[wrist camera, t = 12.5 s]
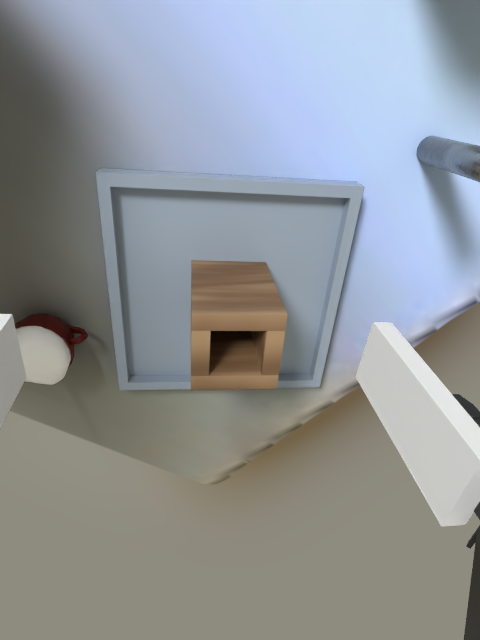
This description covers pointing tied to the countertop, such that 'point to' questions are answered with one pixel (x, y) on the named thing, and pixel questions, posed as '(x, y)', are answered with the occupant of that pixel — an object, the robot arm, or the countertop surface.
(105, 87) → the countertop surface
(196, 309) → the wooden hollow block
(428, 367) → the robot arm
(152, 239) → the tray
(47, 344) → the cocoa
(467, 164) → the rod
